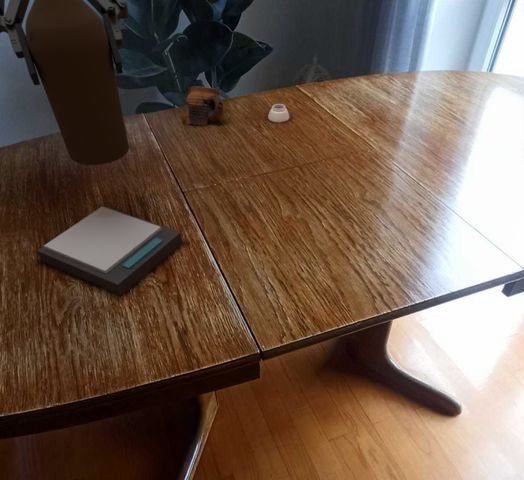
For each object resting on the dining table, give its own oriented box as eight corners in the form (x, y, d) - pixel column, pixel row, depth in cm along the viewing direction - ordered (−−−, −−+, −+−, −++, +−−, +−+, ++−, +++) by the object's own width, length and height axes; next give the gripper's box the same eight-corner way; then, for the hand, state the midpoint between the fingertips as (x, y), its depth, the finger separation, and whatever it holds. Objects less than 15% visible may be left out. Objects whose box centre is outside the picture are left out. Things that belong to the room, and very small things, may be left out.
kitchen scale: (42, 263, 74) (35, 247, 72) (107, 218, 83) (102, 202, 81) (122, 297, 68) (116, 281, 66) (183, 245, 77) (180, 229, 75)
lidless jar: (283, 113, 112) (265, 117, 111) (284, 100, 110) (264, 104, 109) (292, 121, 109) (273, 125, 108) (293, 108, 107) (273, 112, 105)
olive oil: (118, 170, 70) (63, -45, 51) (53, 165, 71) (-24, -46, 53) (142, 139, 77) (101, -60, 58) (83, 135, 78) (24, -61, 60)
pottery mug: (174, 124, 110) (176, 85, 108) (204, 131, 117) (206, 95, 114) (207, 123, 103) (210, 81, 100) (237, 131, 110) (240, 92, 107)
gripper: (-80, -117, 55) (-23, 69, 57) (114, -126, 60) (161, 46, 62) (-53, -64, 63) (-3, 100, 64) (119, -76, 68) (160, 76, 69)
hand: (78, 73), depth 63 cm, fingers closed on olive oil, 11 cm apart
